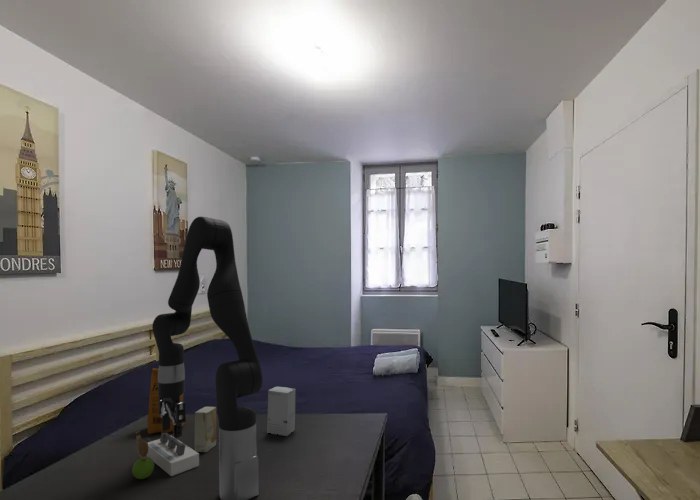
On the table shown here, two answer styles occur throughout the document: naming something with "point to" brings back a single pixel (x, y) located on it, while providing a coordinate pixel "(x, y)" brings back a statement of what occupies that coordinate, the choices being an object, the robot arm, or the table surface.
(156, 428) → the coffee package
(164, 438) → the breaker paddles
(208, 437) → the skincare box
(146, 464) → the snail figurine
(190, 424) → the table surface
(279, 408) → the skincare box
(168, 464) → the strip
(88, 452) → the table surface
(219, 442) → the robot arm
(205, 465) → the table surface
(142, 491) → the table surface
